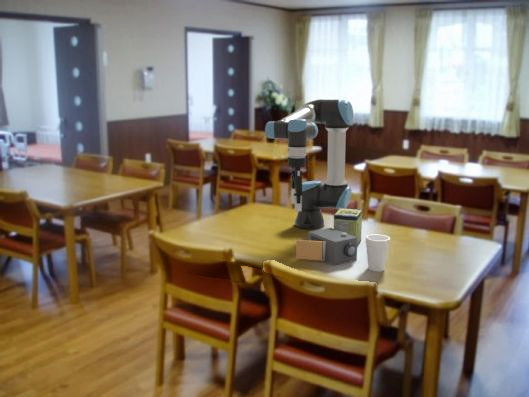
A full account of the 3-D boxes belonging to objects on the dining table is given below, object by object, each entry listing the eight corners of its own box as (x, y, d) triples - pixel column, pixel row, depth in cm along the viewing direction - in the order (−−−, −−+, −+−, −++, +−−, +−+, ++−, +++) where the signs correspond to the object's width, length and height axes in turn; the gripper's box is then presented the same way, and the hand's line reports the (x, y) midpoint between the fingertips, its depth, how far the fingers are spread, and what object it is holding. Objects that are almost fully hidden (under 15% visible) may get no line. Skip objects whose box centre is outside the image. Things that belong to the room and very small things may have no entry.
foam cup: (362, 265, 221) (363, 234, 218) (384, 264, 222) (385, 234, 219) (368, 273, 212) (369, 241, 209) (391, 272, 213) (393, 240, 210)
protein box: (361, 241, 254) (362, 209, 250) (355, 250, 239) (356, 217, 236) (339, 239, 257) (340, 207, 254) (332, 248, 243) (333, 215, 239)
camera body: (329, 249, 242) (330, 225, 239) (359, 261, 225) (360, 236, 223) (307, 253, 235) (308, 229, 233) (337, 266, 219) (337, 240, 216)
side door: (296, 257, 227) (296, 239, 225) (325, 259, 224) (325, 241, 222) (296, 258, 226) (296, 240, 224) (325, 260, 223) (325, 242, 221)
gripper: (285, 153, 234) (284, 200, 238) (291, 161, 209) (290, 214, 214) (302, 153, 234) (301, 200, 239) (310, 161, 210) (309, 214, 214)
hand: (296, 207), depth 226 cm, fingers open, 13 cm apart
